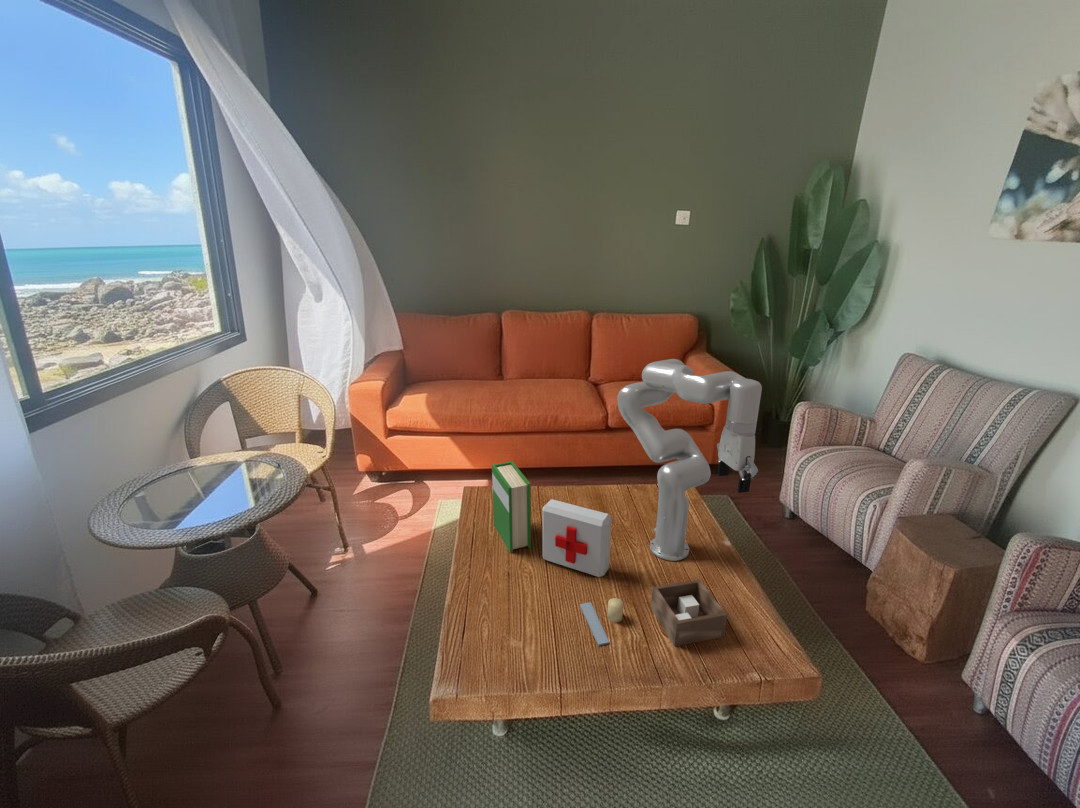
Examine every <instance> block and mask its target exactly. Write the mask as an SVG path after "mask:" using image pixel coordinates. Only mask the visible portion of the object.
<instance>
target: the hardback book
mask: <svg viewBox="0 0 1080 808" xmlns="http://www.w3.org/2000/svg"><path fill="white" fill-rule="evenodd" d="M491 474H492V475H491V477H492V479H491V480H492V482H491V483H492V501H493V503H492V505H493V526H494V528H495V530H496V531H497V533H498V535H499V536H501V537H500V538H501V539H502V542H503V541H504V542H503V543H504V545H505V547H506V549H507V548H508V549H507V551H508V552H509V553H510V554H512V553H511V552H514V551H513V550H516V549H517V550H518V549H520V548H525V547H527V549H528V548H529V549H531V548H532V515H531V514H532V504H531V503H532V495H531V493H532V490H531V489H532V488H531V487H532V485H531V482H530V481H529V480H528V478H526V476H525V475H524V473H522V471H521V470H520V469H519V468H518V466H517V465H516V464H515V463H514V461H512V460H511V461H505V462H500V463H499V462H498V463H496V464H495V463H494V464H491Z"/></svg>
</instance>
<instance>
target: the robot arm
mask: <svg viewBox="0 0 1080 808" xmlns="http://www.w3.org/2000/svg"><path fill="white" fill-rule="evenodd" d="M642 369H643V370H642V372H641V379H642V381H640V382H635V383H630V384H627V385H624V386H623V387H621V389H620V390H619V391H618V394H617V398H616V399H617V400H616V401H617V407H618V408H617V409H618V411H619V413H620V415H621V417H622V418H623V420H624V421H625V422H626V424H627V425H628V426H629V427H630V429H631V430H632V431H633V432H634V434H635V436H636V438H637V440H638V441H639V443H640V444H641V446H642V448H643V449H644V451H645V453H646V455H647V456H648V458H649V459H650V460H651V461H652V462H654V463H657V464H658V463H659V464H660V463H664V462H668V461H670V462H668V463H665V464H664V465H662V466H660V468H659V469H658V471H657V474H656V475H657V476H656V477H657V478H656V480H657V486H658V502H657V503H658V504H657V513H656V514H657V516H656V526H655V527H654V529H653V531H654V532H655V537H654V538H652V540H650V543H649V550H650V551H651V553H652V554H654V556H656V557H657V558H660V559H662V560H666V561H672V562H673V561H675V562H678V561H681V560H684V559H686V558H687V557H688V556H689V553H690V547H689V545H688V544H687V543H686V536H687V530H688V521H689V520H688V519H689V510H690V509H689V508H690V503H689V499H688V497H687V495H686V491H688V490H690V489H693V488H696V487H698V486H701V485H704V484H706V483H707V482H709V480H710V478H711V473H712V472H711V468H710V465H709V462H708V461H707V459H706V458H705V456H704V454H703V453H702V451H701V450H700V448H699V447H698V445H697V444H696V442H695V441H694V439H693V437H692V436H691V435H690V434H689V433H688V432H687V431H686V430H684V429H682V428H672V429H668V430H665V429H664V428H663V426H661V424H660V423H659V421H658V419H657V418H656V417H655V416H654V415H653V414H651V413H650V412H648V411H646V410H645V409H644V408H648V407H653V406H657V405H660V404H663V403H665V402H667V401H668V400H669V398H671V397H672V395H674V394H675V393H676V395H677V396H678V397H679V398H680V399H682V400H684V401H685V402H686V401H687V402H691V403H697V404H703V405H704V404H705V405H707V404H712V403H717V402H722V401H728V405H727V410H726V419H725V425H724V427H723V429H722V432H721V435H720V440H719V442H718V443H717V444H716V448H717V456H718V458H717V461H718V468H717V469H718V470H717V476H718V477H723V476H725V477H726V476H729V475H730V469H732V470H733V471H736V472H738V473H739V476H740V478H739V479H738V484H737V492H738V493H739V494H742V493H743V494H744V493H748V492H749V491H750V489H751V482H752V481H751V480H753V479H754V478H755V477H756V475H757V473H758V472H759V469H758V467H757V465H756V464H755V453H756V430H757V424H758V423H757V422H758V416H759V411H760V405H761V404H760V403H761V397H762V391H763V390H762V389H763V386H762V384H761V383H760V382H759V381H757V380H754V379H752V378H746V377H745V376H742V375H740V374H739V373H737V372H734V371H732V370H731V371H730V370H729V371H721V372H715V373H711V374H706V375H695V374H694V373H695V372H694V371H693V369H692V368H691V367H690V366H689V365H685V363H684V362H683V361H681V359H677V358H670V359H663V360H657V361H653V362H650V363H648V364H646V366H645V367H644V368H642ZM675 459H676V460H675ZM671 460H674V461H671ZM745 472H746V474H745Z"/></svg>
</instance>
